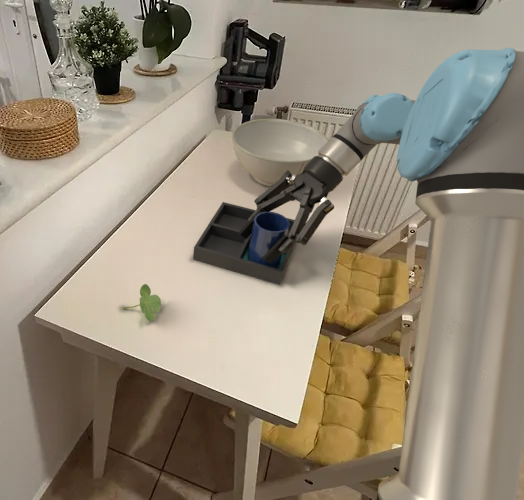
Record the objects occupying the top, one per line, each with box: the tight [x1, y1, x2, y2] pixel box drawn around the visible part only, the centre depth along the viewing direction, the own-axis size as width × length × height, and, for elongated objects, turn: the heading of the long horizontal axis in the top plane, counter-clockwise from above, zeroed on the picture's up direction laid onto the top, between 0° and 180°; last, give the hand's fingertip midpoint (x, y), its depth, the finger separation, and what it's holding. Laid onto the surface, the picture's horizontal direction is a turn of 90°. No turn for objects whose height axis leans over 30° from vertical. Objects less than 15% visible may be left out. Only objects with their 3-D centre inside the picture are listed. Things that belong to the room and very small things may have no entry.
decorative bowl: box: [231, 118, 330, 187], centre depth 123 cm, size 27×27×12 cm
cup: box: [247, 211, 290, 269], centre depth 93 cm, size 7×7×11 cm
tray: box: [192, 201, 296, 286], centre depth 100 cm, size 20×20×4 cm
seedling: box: [122, 283, 162, 322], centre depth 84 cm, size 7×8×7 cm
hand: (253, 247), depth 92 cm, fingers open, 8 cm apart
